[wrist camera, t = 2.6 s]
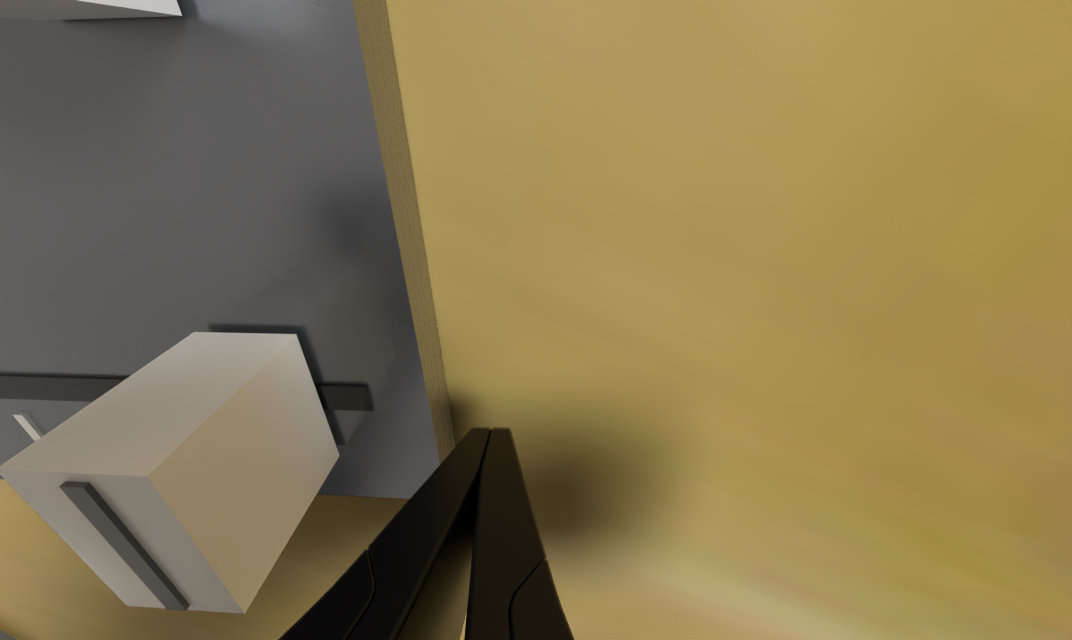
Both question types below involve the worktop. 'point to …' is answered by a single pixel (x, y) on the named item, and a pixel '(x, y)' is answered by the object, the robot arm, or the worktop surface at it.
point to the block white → (87, 9)
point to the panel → (218, 218)
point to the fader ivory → (186, 471)
